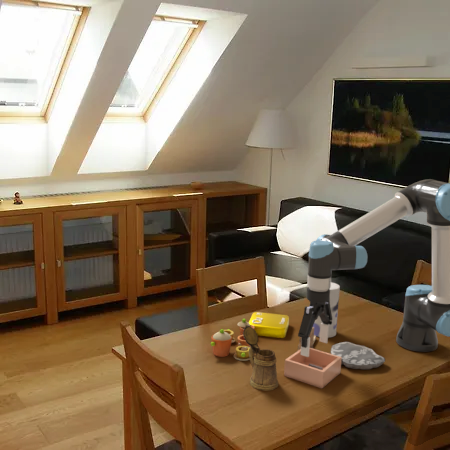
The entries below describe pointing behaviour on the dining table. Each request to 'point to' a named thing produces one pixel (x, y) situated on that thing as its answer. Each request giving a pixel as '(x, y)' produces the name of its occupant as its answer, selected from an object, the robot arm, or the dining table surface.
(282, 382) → the dining table surface
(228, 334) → the toy tea set
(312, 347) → the tall beige block
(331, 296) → the container
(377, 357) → the brain slice
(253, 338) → the wooden mug
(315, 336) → the beige wooden plank
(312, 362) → the pink open box
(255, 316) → the element tile
